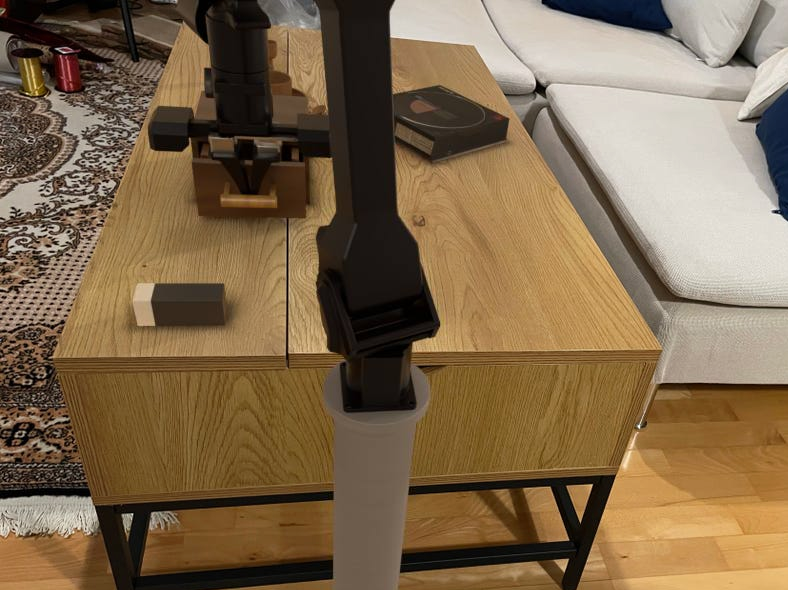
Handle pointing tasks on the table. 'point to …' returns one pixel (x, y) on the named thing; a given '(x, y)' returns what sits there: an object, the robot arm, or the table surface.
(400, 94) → the portable cd player
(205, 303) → the black rubber eraser
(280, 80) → the place setting
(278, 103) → the cabinet
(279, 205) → the drawer
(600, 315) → the table surface
